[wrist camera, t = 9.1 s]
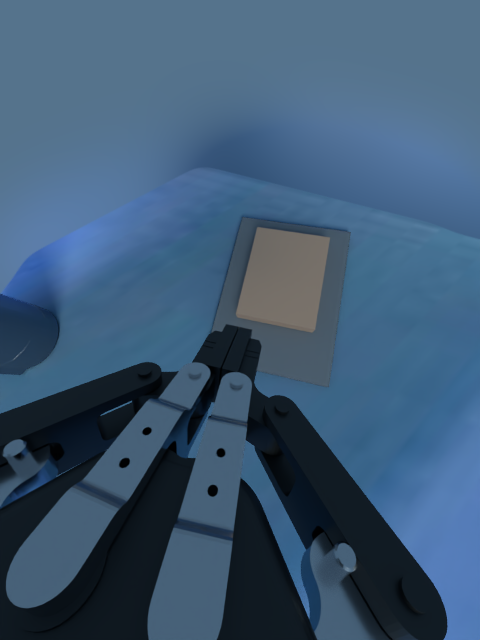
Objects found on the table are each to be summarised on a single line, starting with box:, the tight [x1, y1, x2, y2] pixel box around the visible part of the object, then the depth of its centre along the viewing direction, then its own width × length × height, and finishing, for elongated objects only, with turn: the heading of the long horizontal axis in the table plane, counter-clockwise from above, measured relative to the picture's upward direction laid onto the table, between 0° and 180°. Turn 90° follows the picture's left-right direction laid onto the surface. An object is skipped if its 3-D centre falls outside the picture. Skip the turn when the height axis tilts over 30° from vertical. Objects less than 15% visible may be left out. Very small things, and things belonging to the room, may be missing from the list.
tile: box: [236, 227, 330, 333], centre depth 32 cm, size 2×10×13 cm
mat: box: [211, 217, 351, 387], centre depth 33 cm, size 22×16×1 cm
